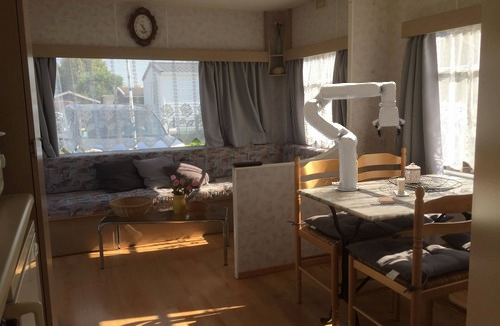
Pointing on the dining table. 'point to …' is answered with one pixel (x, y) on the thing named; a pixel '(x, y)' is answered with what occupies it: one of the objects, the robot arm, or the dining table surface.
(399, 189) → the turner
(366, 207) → the dining table surface
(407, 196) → the tool rest
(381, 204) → the mat
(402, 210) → the dining table surface
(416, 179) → the teacup with lid
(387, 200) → the tile
